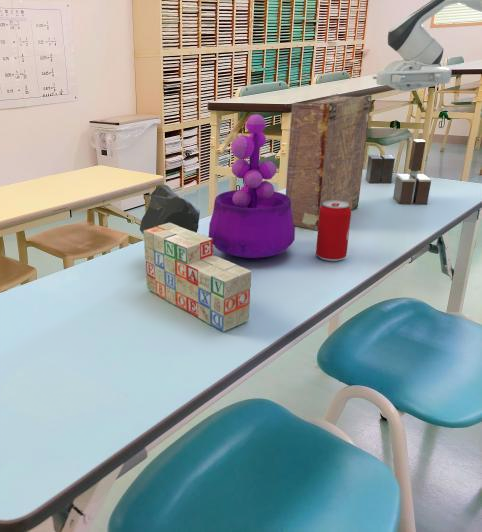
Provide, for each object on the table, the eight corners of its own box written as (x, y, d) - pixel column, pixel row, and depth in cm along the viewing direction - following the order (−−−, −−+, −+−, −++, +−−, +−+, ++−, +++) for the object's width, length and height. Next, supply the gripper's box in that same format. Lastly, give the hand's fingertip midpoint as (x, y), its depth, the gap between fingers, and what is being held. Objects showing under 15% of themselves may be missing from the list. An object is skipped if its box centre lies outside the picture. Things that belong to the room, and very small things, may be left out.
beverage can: (348, 254, 113) (355, 201, 108) (342, 264, 108) (349, 209, 103) (318, 250, 116) (324, 198, 111) (312, 260, 111) (317, 205, 106)
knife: (407, 203, 146) (417, 142, 140) (402, 198, 151) (411, 139, 144) (416, 203, 146) (426, 142, 140) (411, 198, 151) (421, 139, 144)
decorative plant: (258, 275, 105) (267, 122, 93) (191, 253, 118) (190, 116, 106) (309, 250, 116) (322, 111, 105) (242, 233, 129) (247, 107, 117)
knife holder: (369, 183, 169) (372, 158, 166) (365, 178, 174) (368, 155, 171) (391, 183, 167) (395, 158, 164) (386, 179, 173) (390, 154, 170)
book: (326, 202, 151) (337, 93, 139) (358, 207, 145) (372, 94, 133) (283, 224, 134) (291, 103, 122) (317, 231, 128) (329, 104, 116)
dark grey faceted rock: (213, 259, 114) (214, 178, 107) (187, 287, 101) (187, 197, 94) (154, 251, 120) (151, 174, 113) (123, 276, 107) (118, 191, 100)
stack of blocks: (250, 320, 87) (253, 253, 82) (223, 333, 84) (223, 264, 79) (171, 279, 104) (169, 221, 99) (145, 288, 100) (142, 229, 95)
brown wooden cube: (393, 197, 152) (396, 173, 150) (419, 197, 151) (423, 173, 148) (399, 204, 146) (403, 179, 143) (427, 204, 145) (431, 179, 142)
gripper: (372, 66, 164) (383, 68, 152) (443, 64, 160) (459, 65, 148) (370, 87, 167) (380, 91, 154) (439, 85, 163) (455, 89, 150)
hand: (419, 78), depth 151 cm, fingers open, 8 cm apart
